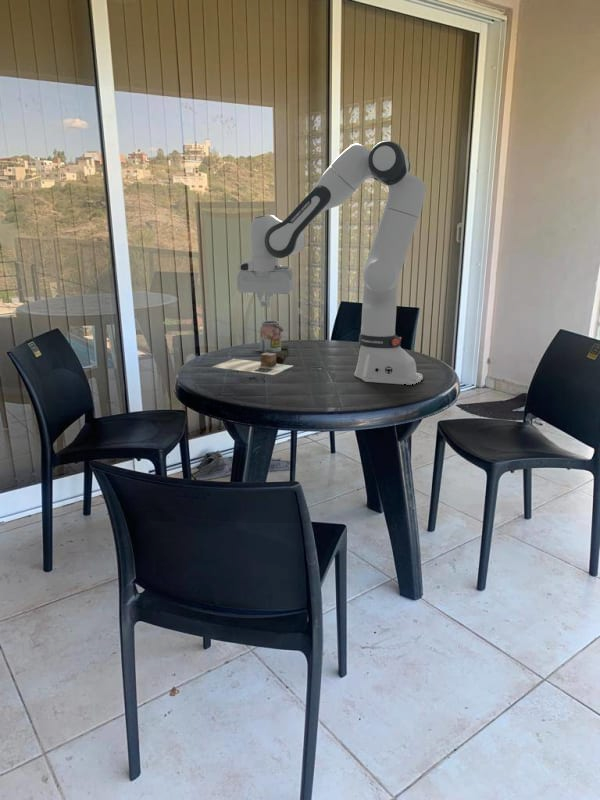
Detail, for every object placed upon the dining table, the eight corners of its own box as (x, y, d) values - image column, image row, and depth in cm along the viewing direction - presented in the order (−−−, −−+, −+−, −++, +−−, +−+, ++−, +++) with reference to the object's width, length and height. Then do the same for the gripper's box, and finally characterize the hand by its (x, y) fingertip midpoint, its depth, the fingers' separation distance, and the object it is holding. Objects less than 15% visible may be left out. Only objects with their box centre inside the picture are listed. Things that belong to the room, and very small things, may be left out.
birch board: (293, 369, 200) (293, 365, 199) (273, 379, 187) (273, 374, 186) (233, 362, 209) (233, 358, 209) (211, 371, 196) (211, 366, 196)
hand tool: (283, 367, 204) (283, 354, 203) (272, 367, 205) (272, 354, 203) (293, 357, 222) (294, 345, 221) (283, 356, 223) (283, 344, 221)
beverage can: (273, 348, 235) (273, 319, 232) (287, 352, 229) (287, 322, 226) (255, 351, 229) (255, 321, 226) (269, 355, 223) (269, 324, 220)
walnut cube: (276, 364, 200) (276, 353, 199) (270, 367, 197) (270, 355, 196) (266, 363, 202) (266, 352, 201) (260, 365, 198) (260, 354, 197)
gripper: (296, 265, 194) (296, 306, 198) (243, 264, 202) (244, 304, 206) (288, 266, 188) (288, 309, 192) (233, 265, 196) (235, 306, 200)
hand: (265, 306), depth 199 cm, fingers closed
